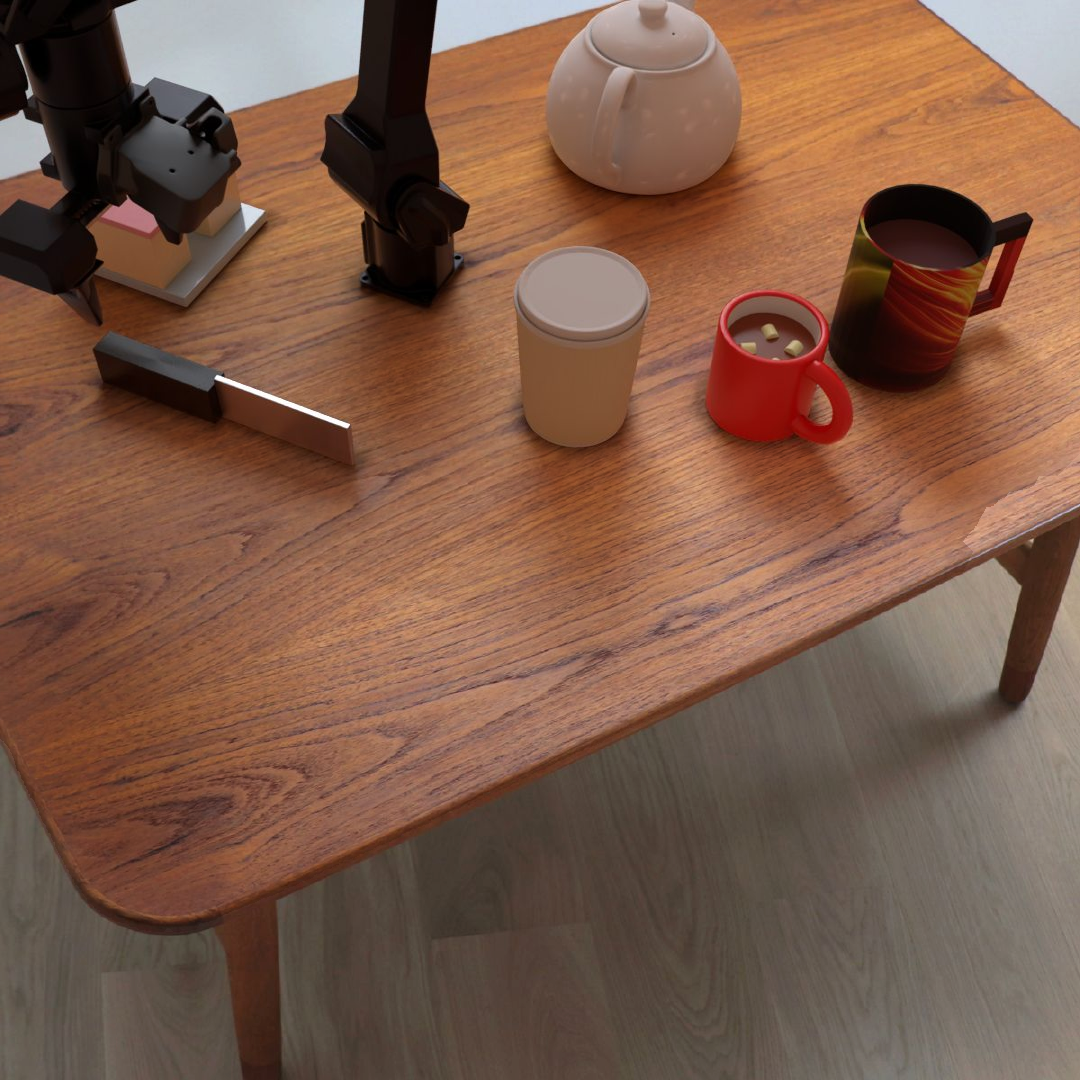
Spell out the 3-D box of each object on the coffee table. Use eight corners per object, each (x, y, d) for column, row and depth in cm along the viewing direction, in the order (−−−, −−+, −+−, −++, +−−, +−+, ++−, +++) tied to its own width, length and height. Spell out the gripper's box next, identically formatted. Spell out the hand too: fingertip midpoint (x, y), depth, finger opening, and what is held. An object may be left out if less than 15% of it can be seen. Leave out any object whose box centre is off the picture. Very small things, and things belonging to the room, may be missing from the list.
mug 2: (998, 315, 109) (1046, 193, 100) (913, 411, 102) (956, 290, 93) (893, 263, 113) (929, 140, 103) (804, 353, 106) (834, 230, 97)
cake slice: (192, 259, 109) (179, 203, 105) (163, 290, 107) (149, 233, 103) (109, 230, 111) (93, 174, 107) (79, 260, 109) (62, 203, 105)
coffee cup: (652, 383, 104) (667, 261, 94) (616, 470, 98) (628, 350, 89) (536, 353, 105) (540, 229, 96) (494, 437, 100) (494, 315, 90)
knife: (361, 454, 99) (357, 416, 95) (346, 474, 97) (341, 437, 94) (119, 362, 104) (107, 324, 100) (102, 381, 102) (89, 343, 99)
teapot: (501, 112, 124) (502, -29, 113) (679, 67, 129) (695, -72, 119) (592, 235, 114) (602, 93, 103) (780, 180, 119) (808, 40, 108)
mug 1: (806, 490, 97) (827, 415, 91) (683, 400, 103) (695, 322, 96) (874, 435, 101) (899, 359, 95) (752, 350, 106) (768, 273, 100)
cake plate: (267, 220, 114) (256, 154, 109) (186, 307, 107) (170, 242, 102) (147, 179, 117) (131, 113, 112) (61, 262, 110) (39, 196, 105)
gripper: (99, 211, 73) (156, 410, 86) (281, 37, 84) (308, 236, 96) (-67, 153, 76) (12, 354, 88) (130, -8, 87) (176, 192, 99)
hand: (136, 282), depth 93 cm, fingers open, 9 cm apart
